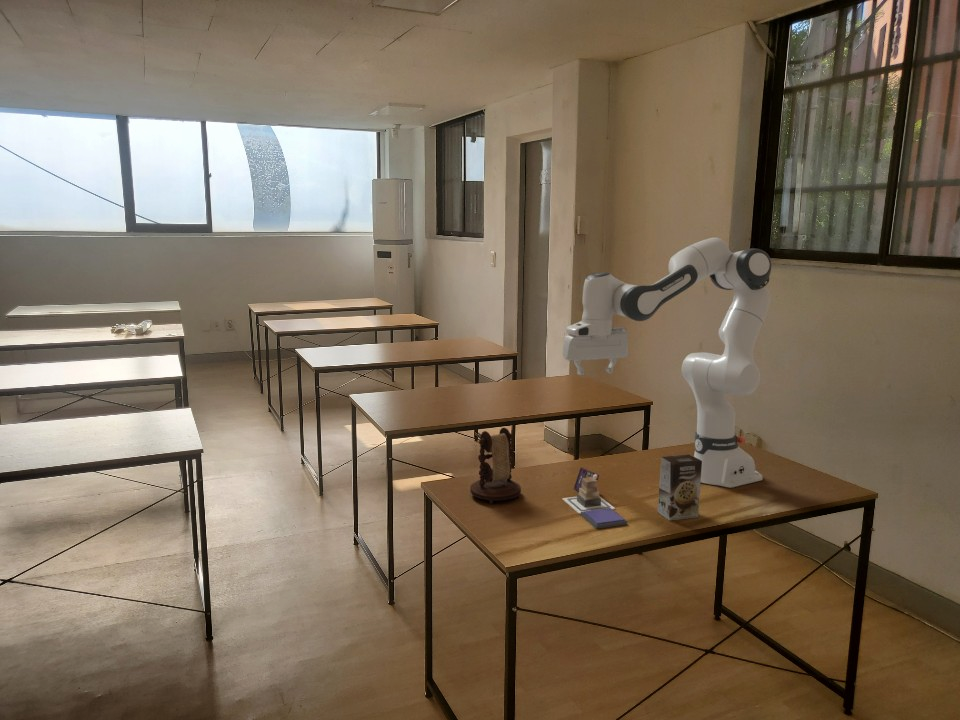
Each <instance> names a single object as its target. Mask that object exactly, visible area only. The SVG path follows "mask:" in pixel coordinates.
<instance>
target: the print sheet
mask: <svg viewBox="0 0 960 720" xmlns="http://www.w3.org/2000/svg"><path fill="white" fill-rule="evenodd" d="M599 497H600V498H601V505H600V506H593V507H583V506H582V505H581V504H580V503H579V502H578V501H577V496H572V497H564V498H563V497H562V501H564V502H565V503H566V505H567V504H568V506H569V507H570V508H572V509H573V510H574V511H575V512H576V513H578V515H581V512H583V511H590V510H598V509H606V508H611V509H612V510H614V511H615V510H616V507H614V506H613V505H612V504H610V503H609V502H608V501H606V500H605V499H604V498H602V496H600V495H599Z"/></svg>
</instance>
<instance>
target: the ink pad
mask: <svg viewBox="0 0 960 720" xmlns="http://www.w3.org/2000/svg"><path fill="white" fill-rule="evenodd" d="M580 516H581V517H582V518H583V519H584V520H585V521H587V523H589V524H590V525H591V526H592V527H593V528H595V529H596V530H597V529H604V528H610V527H619V526H620V527H621V526H625V525H628V521H627V520H626V518H624V517H623V516H621V515H620V514H619V513H618V512H616V511H615V509H614V510H612V509H611V508H606V509H598V510H590V511H583V512H581V514H580Z"/></svg>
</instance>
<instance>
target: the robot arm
mask: <svg viewBox="0 0 960 720" xmlns="http://www.w3.org/2000/svg"><path fill="white" fill-rule="evenodd" d="M667 267H668V268H667V269H668V272H669V274H667V275H666V276H664V277H662V278H661V279H659V280H657V281H656V282H654V283H653V284H649V285H636V284H631V283H630V284H629V283H626V282H625V281H622V280H620V279H618V278H616V277H615V276H614V275H612V273H611V272H596V273H595V272H594V273H592V274H590V275H589V274H588V276H587V277H586V278H585V280H584V283H583V288H582V301H581V302H582V307H583V312H582V316H581V320H580V321H578V322H575V323H573V324H571V325H568V326H566V327H565V332H566V334H567V335H565V337H564V339H563V346H562V356H563V359H565V360H566V361H568V362H569V361H570V362H572V361H573V363H574V366H575V367H576V369H577V372H576V373H577V375H578V376H582V375H583V376H584V375H585V368H582V366H581V364H582V361H591V360H606V359H607V360H608V361H609V364H608V365H607V366H605V373H606V374H612V373H613V372H614V367H615V365H616V364H617V361H618V359H623V358H624V359H625V358H626V357H628V355H629V344H628V342H629V341H628V338H629V337H628V335H629V332H628V330H627V328H624V326H619V327H617V326H613V316H614V315H617V316H621V317H624V318H629V319H630V320H634V321H636V322H644V321H647V320H649V319H650V318H652V317H653V316H654V315H655V314H656V312H657V311H658V310H659V309H660V308H661V307H662V306H664V304H665V303H667V302H668V301H670V300H672V299H673V298H675V297H677V296H678V295H680V294H681V293H682V292H685V291H686V290H688V289H689V288H690V287H692V286H693V285H695V284H697V283H699V282H701V281H703V280H704V279H707V278H708V277H709V278H710V281H711V282H712V283H713V285H714V286H715V287H717V288H719V289H721V290H723V291H724V290H726V291H731V290H732V291H733V299H732V301H731V303H730V306H729V308H728V310H727V312H726V314H725V316H724V318H723V320H722V322H721V325H720V327H719V329H718V337H719V339H720V341H721V342H722V343H723V344H724V349H723V353H722V354H717V353H716V354H715V353H711V352H706V351H705V352H704V351H703V352H692V353H691V352H690V353H689V354H687V356H686V357H685V358H684V359H683V361H682V365H681V375H682V377H683V379H684V380H685V381H686V382H687V384H688V385H689V387H690V388H691V391H692V392H693V393H692V394H693V395H694V399H695V403H696V409H697V411H696V413H697V415H696V416H697V417H696V418H697V419H696V431H695V433H694V455H693V457H695V458H697V459H699V460H701V461H702V469H701V483H703V484H707V485H712V486H721V487H725V488H735V487H740V486H744V485H748V484H752V483H756V482H760V481H763V480H764V479H763V474H761V473H760V472H759V471H757V470H756V464H755V461H754V458H753V457H752V456H751V455H750V454H749V453H747V452H746V451H744V450H743V449H742V448H741V447H740V446H739V444H742V445H743V444H745V443H746V441H747V440H746V438H745V437H744V436H741V435H739V436H738V435H736V434H735V427H736V416H737V415H736V410H735V408H734V406H732V404H731V403H729V401H728V400H727V398H726V395H725V394H729V395H733V396H734V395H735V396H749V395H751V394H753V393H754V392H755V391H756V390H757V389H758V387H759V385H760V382H761V371H760V369H759V368H758V367H759V366H757V365H756V362H755V359H754V348H755V345H756V342H757V338H758V336H759V334H760V332H761V329H762V326H763V324H764V322H765V321H766V318H767V314H768V312H769V308H770V305H771V300H772V295H771V292H770V291H769V289H768V288H766V286H767V285H768V284H769V282H770V275H771V273H772V261H771V258H770V255H769V254H768V253H767V252H766V251H765V250H762V249H760V248H746V249H744V250H739V251H735V252H732V251H731V250H730V248H729V245H728V244H727V243H726V241H725V240H723V239H722V238H720V237H711V238H710V237H709V238H706V239H703V240H700V241H697V242H695V243H692V244H690V245H688V246H687V247H684V248H683V249H681V250H679V251H678V252H676V253H675V254H673V255H672V256H671V257H670V259H669V261H668V266H667ZM613 374H614V373H613ZM738 443H739V444H738Z"/></svg>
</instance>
